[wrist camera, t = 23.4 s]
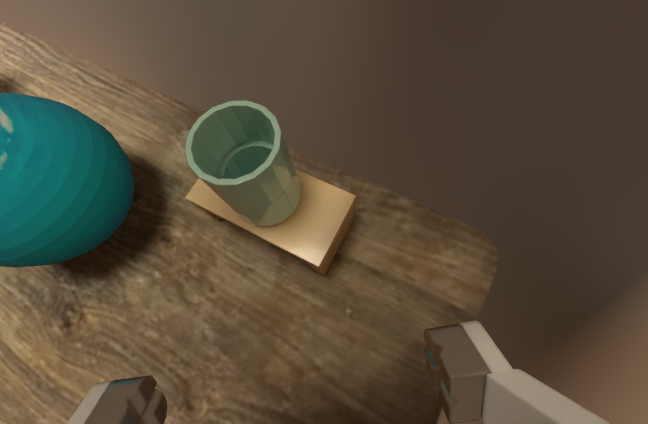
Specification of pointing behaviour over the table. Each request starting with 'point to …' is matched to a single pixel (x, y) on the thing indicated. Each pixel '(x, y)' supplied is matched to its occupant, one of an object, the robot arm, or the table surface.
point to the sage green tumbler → (245, 161)
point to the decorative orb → (57, 182)
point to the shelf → (294, 220)
